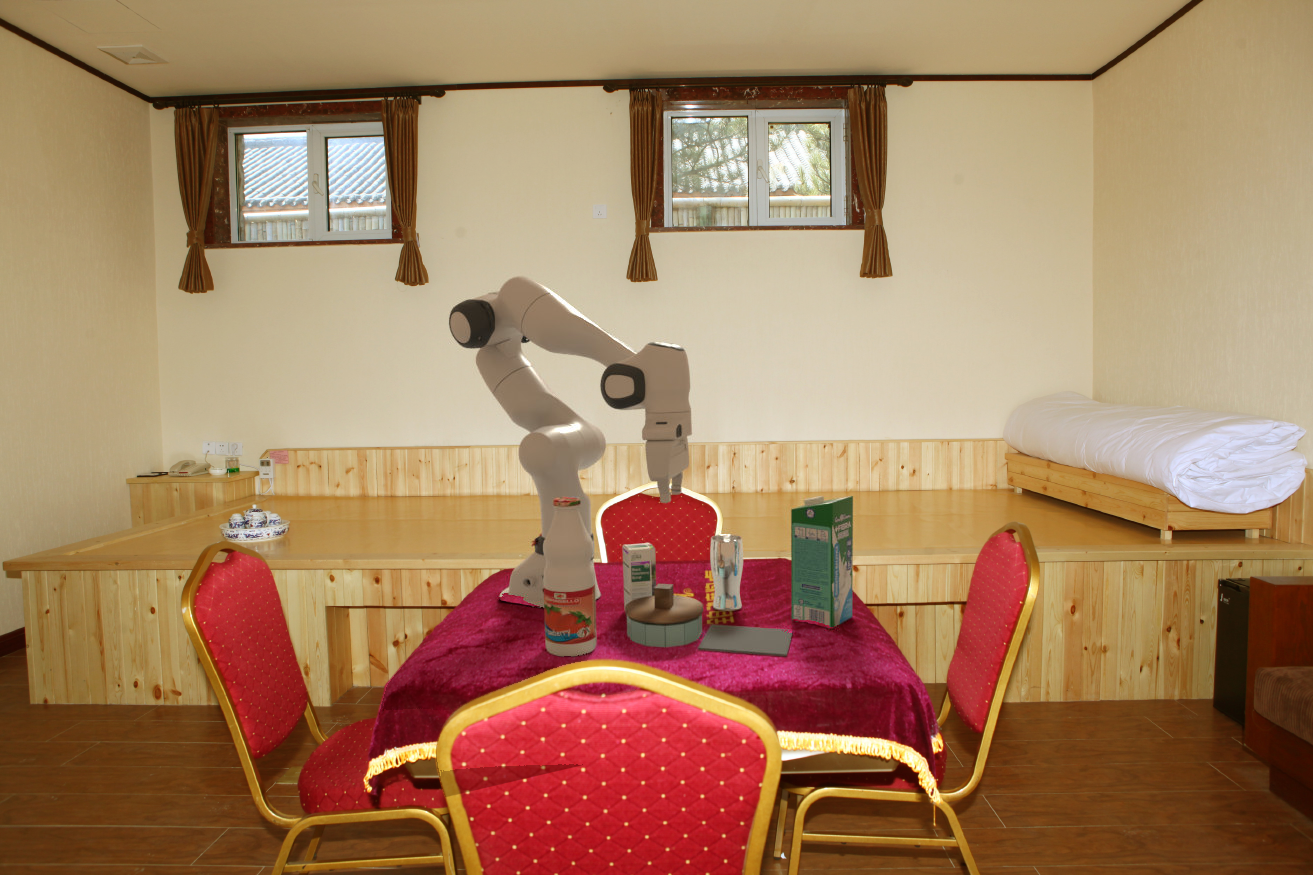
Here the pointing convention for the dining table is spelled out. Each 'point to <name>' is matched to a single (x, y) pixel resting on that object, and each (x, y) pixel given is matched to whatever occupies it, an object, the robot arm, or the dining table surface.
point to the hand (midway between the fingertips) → (671, 498)
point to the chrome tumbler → (726, 570)
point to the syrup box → (638, 571)
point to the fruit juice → (569, 583)
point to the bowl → (664, 632)
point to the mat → (746, 640)
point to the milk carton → (822, 560)
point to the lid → (664, 607)
